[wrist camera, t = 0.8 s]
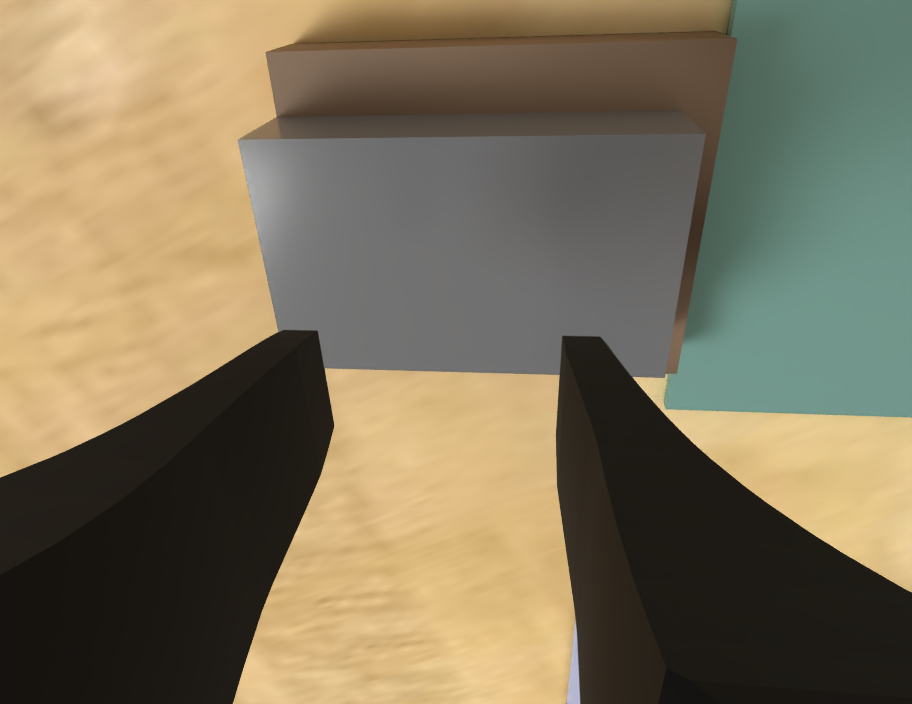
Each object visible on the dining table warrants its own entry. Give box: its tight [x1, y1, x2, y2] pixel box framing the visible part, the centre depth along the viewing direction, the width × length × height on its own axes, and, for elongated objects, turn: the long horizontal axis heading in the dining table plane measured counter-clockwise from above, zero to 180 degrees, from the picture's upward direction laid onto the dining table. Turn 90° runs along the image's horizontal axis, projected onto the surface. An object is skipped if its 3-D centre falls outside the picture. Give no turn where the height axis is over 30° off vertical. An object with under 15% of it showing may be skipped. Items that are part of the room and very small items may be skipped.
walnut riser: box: [266, 31, 737, 374], centre depth 18 cm, size 9×11×2 cm
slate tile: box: [238, 110, 706, 378], centre depth 16 cm, size 6×10×2 cm, turn 92°
